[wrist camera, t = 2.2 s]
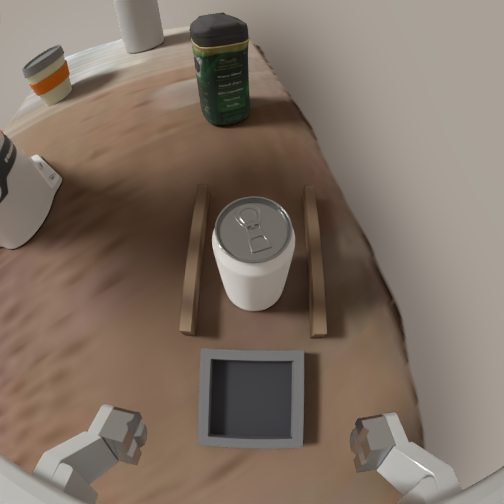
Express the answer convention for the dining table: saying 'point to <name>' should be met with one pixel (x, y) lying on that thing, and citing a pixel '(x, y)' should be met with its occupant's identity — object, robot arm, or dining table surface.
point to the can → (253, 251)
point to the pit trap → (251, 398)
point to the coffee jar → (221, 67)
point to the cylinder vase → (139, 24)
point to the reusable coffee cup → (49, 75)
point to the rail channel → (196, 256)
